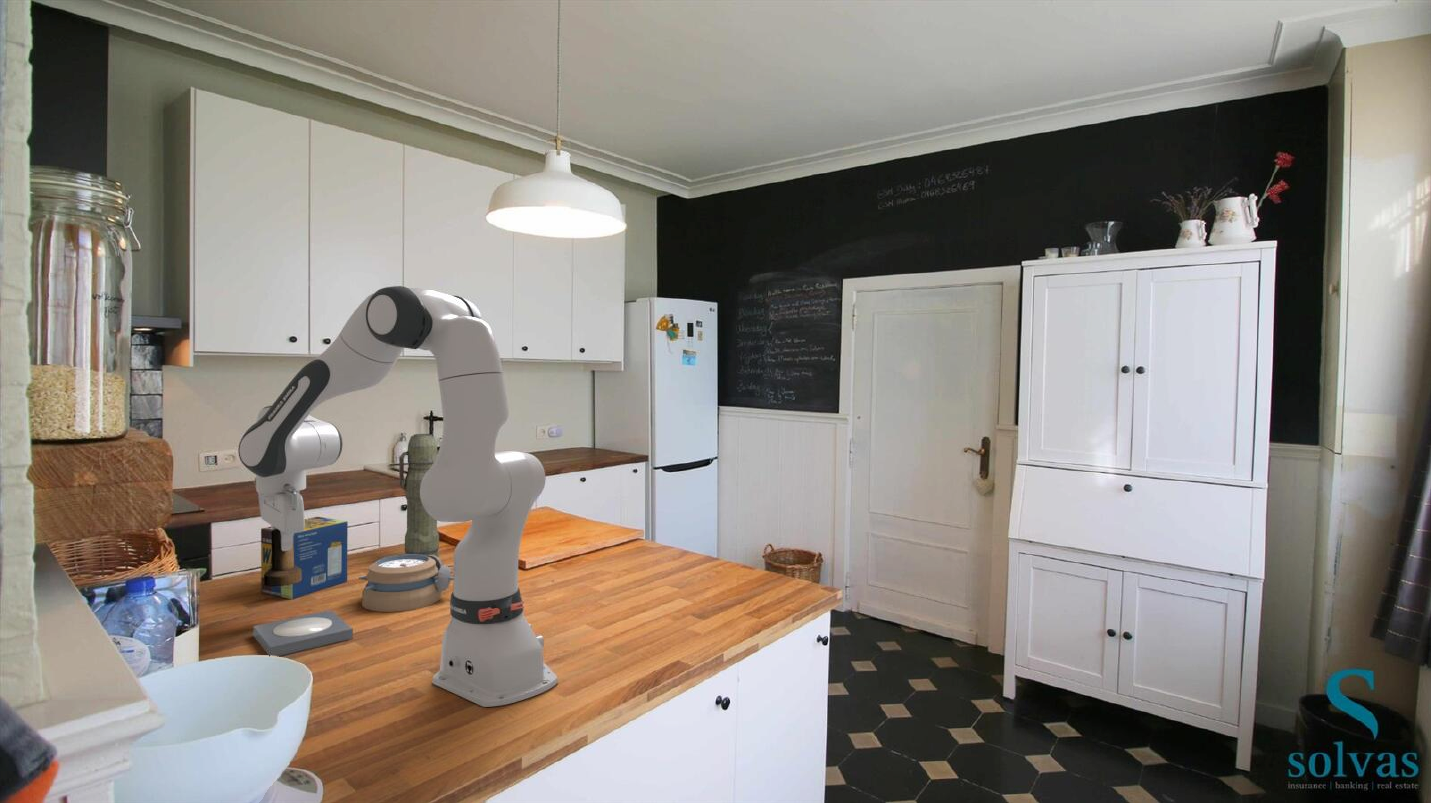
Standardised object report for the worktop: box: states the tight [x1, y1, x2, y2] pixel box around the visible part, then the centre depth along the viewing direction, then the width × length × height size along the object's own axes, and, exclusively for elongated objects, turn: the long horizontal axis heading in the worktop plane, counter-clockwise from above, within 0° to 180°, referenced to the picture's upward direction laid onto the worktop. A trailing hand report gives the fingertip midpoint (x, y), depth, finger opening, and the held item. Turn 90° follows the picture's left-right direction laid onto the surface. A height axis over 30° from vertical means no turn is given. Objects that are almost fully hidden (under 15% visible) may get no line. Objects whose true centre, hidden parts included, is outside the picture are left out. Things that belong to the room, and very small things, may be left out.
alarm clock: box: [358, 553, 454, 613], centre depth 163 cm, size 17×9×23 cm
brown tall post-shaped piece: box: [264, 503, 302, 587], centre depth 144 cm, size 7×6×18 cm
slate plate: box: [252, 609, 354, 657], centre depth 137 cm, size 14×14×2 cm
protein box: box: [260, 516, 349, 600], centre depth 167 cm, size 10×15×16 cm
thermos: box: [398, 433, 440, 558], centre depth 194 cm, size 9×12×35 cm
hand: (282, 547), depth 144 cm, fingers closed on brown tall post-shaped piece, 4 cm apart
